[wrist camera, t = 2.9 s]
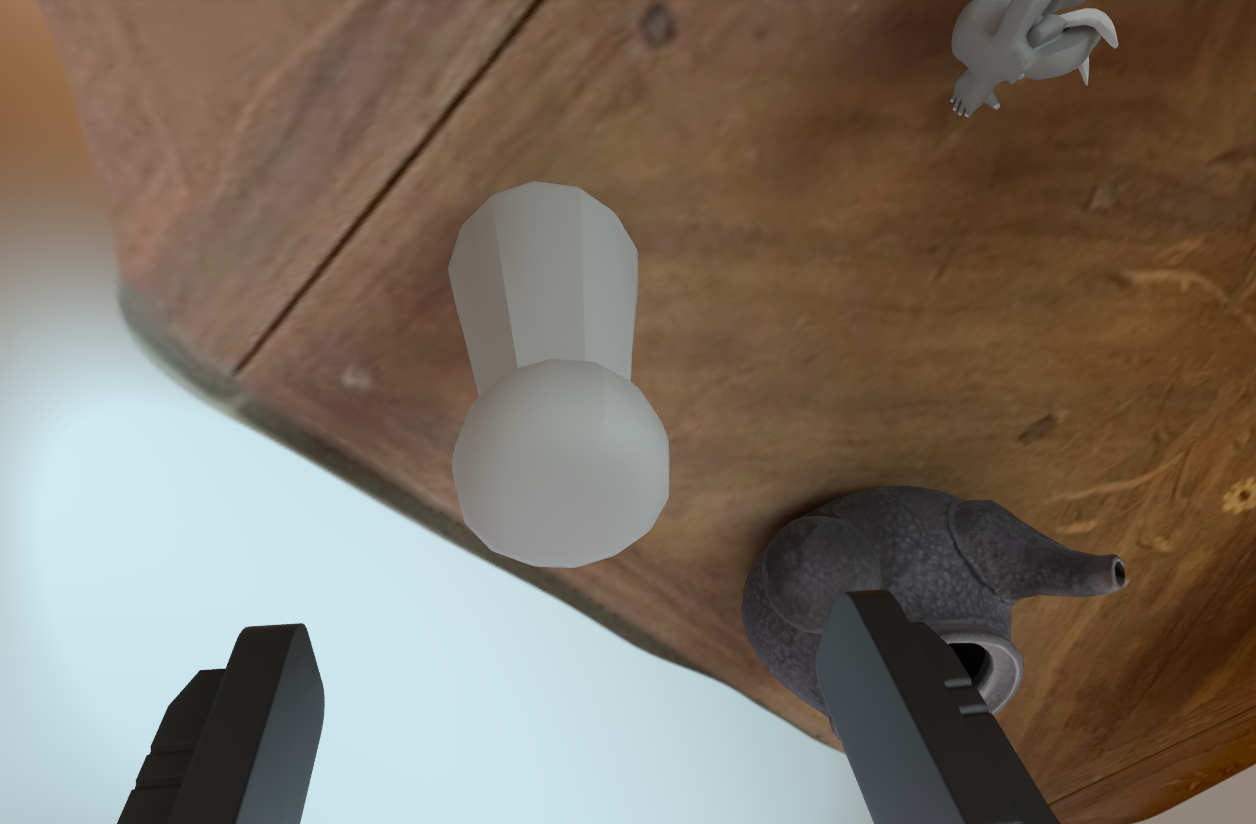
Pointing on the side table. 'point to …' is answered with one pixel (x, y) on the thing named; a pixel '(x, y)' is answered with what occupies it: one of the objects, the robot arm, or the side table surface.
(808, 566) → the teapot
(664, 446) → the salt shaker
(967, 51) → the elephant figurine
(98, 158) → the side table surface
